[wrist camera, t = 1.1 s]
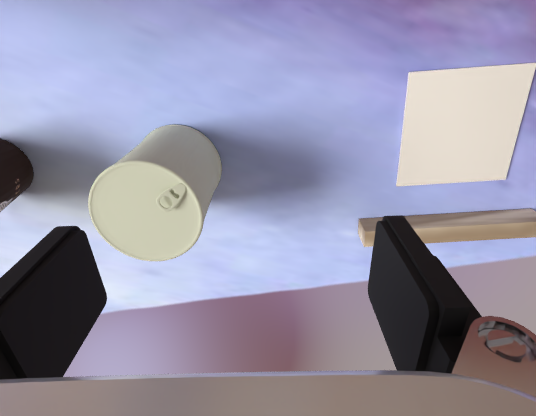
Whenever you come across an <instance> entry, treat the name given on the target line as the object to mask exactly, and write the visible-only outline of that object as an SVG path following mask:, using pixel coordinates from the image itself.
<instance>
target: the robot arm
mask: <svg viewBox="0 0 536 416" xmlns="http://www.w3.org/2000/svg"><path fill="white" fill-rule="evenodd" d="M368 294H369V298H370V301H371V304H372V306H373V309H374V312H375V314H376V316H377V319H378V322H379V325H380V327H381V330H382V332H383V335H384V338H385V340H386V343H387V346H388V348H389V351H390V354H391V356H392V359H393V361H394V364H395V367H396V369H397V371H386V370H380V371H376V370H375V371H296V372H295V371H294V372H246V373H245V372H241V373H201V374H200V373H199V374H159V375H120V376H87V377H63V375H64V374H65V372H66V370H67V369H68V367H69V365H70V364H71V362H72V360H73V359H74V357H75V355H76V354H77V352H78V350H79V349H80V347H81V345H82V344H83V342H84V340H85V339H86V337H87V335H88V333H89V332H90V330H91V328H92V327H93V325H94V323H95V322H96V320H97V318H98V317H99V315H100V313H101V312H102V310H103V308H104V306H105V304H106V301H107V295H106V291H105V288H104V285H103V283H102V280H101V277H100V274H99V271H98V268H97V265H96V262H95V259H94V256H93V253H92V250H91V247H90V244H89V241H88V238H87V235H86V233H85V232H84V231H83V230H80V228H79V227H77V226H59V227H56V228H54V229H53V230H52V231H51V232H50V233H49V234H48V235H46V236H45V237H44V238H43V239H42V240H41V241H40V242H39V243H38V244H37V245H36V246H35V247H33V248H32V249H31V250H30V251H29V252H28V253H27V254H26V255H25V256H24V257H23V258H22V259H20V260H19V261H18V262H17V263H16V264H15V265H14V266H13V267H12V268H11V269H10V270H9V271H8V272H6V273H5V274H4V275H3V276H2V277H1V278H0V416H536V335H535V334H534V333H532V332H531V331H530V330H528V329H527V328H525V327H524V326H522V325H520V324H518V323H515V322H514V321H511V320H508V319H505V318H501V317H494V316H486V317H482V316H481V315H480V314H479V312H478V311H477V310H476V308H475V307H474V306H473V304H472V303H471V302H470V300H469V299H468V298H467V296H466V295H465V294H464V292H463V291H462V290H461V288H460V287H459V286H458V284H457V283H456V282H455V280H454V279H453V278H452V276H451V275H450V274H449V272H448V271H447V270H446V268H445V267H444V266H443V264H442V263H441V262H440V260H439V259H438V258H437V257H436V256H433V255H432V254H431V252H430V251H429V250H428V248H427V247H426V245H425V244H424V243H423V241H422V240H421V239H420V237H419V236H418V235H417V233H416V232H415V231H414V229H413V228H412V227H411V225H410V224H409V222H408V221H407V220H406V218H405V217H404V216H384V217H383V219H382V221H377V224H376V230H375V237H374V245H373V253H372V260H371V268H370V275H369V283H368Z"/></svg>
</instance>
